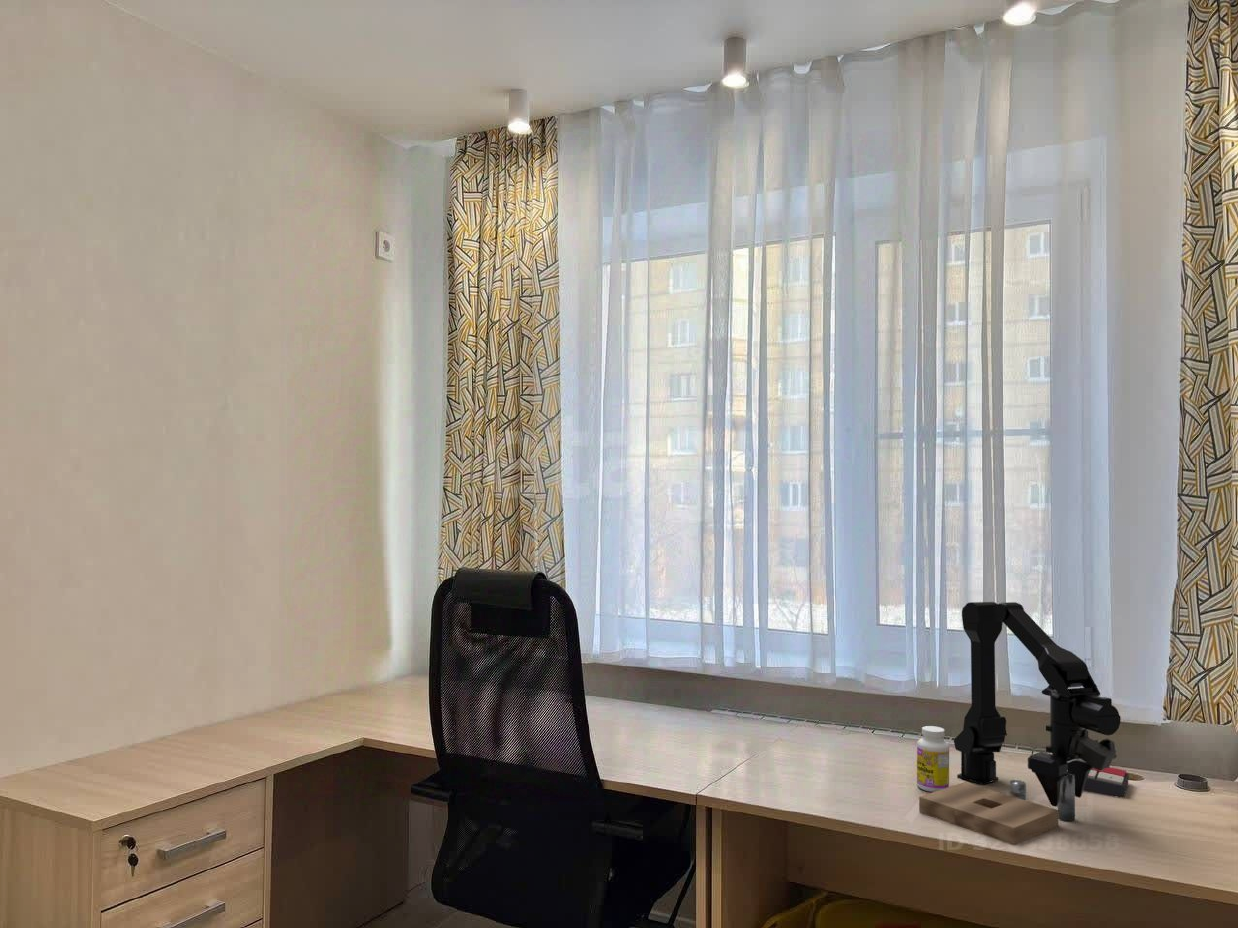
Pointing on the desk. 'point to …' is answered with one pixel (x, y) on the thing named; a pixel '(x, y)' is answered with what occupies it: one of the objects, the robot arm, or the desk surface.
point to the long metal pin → (1067, 798)
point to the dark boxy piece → (1107, 782)
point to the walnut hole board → (989, 812)
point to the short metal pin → (1018, 789)
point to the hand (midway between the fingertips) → (1066, 801)
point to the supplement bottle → (932, 760)
